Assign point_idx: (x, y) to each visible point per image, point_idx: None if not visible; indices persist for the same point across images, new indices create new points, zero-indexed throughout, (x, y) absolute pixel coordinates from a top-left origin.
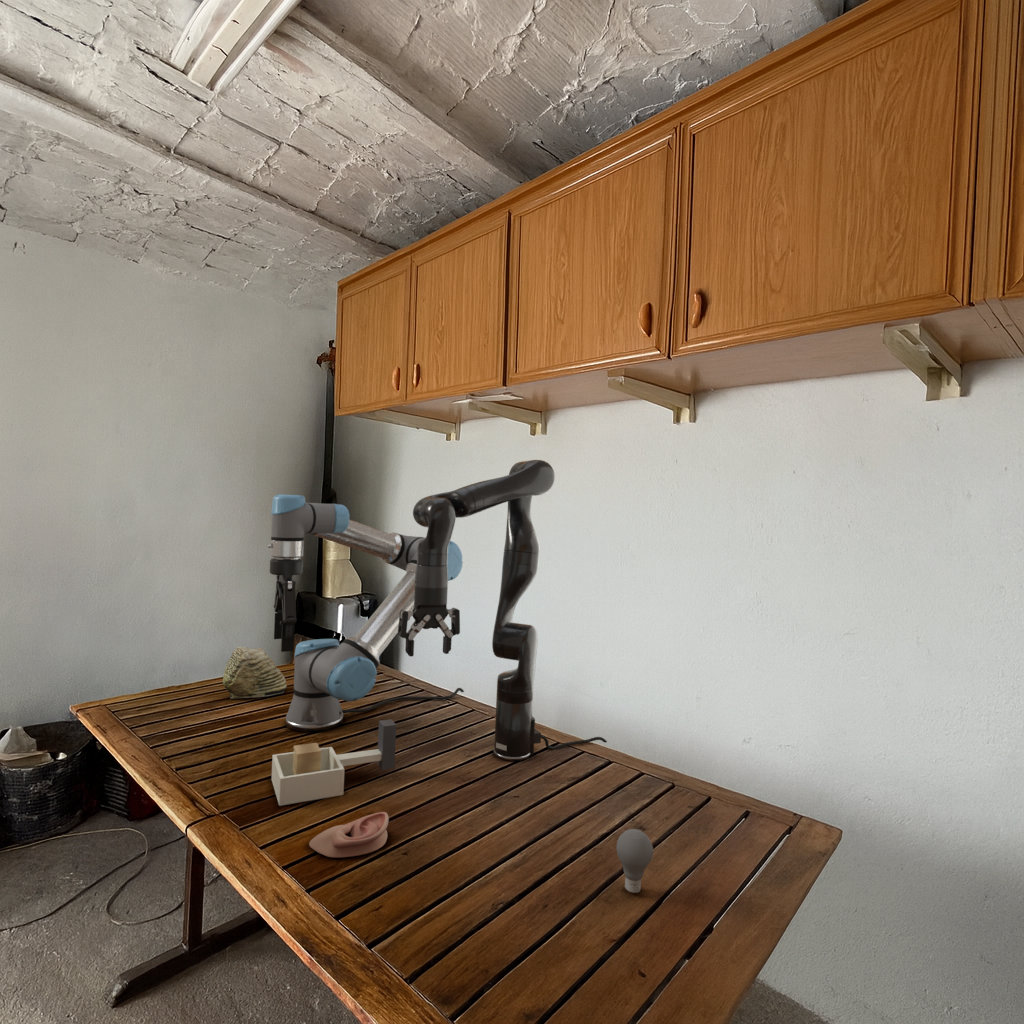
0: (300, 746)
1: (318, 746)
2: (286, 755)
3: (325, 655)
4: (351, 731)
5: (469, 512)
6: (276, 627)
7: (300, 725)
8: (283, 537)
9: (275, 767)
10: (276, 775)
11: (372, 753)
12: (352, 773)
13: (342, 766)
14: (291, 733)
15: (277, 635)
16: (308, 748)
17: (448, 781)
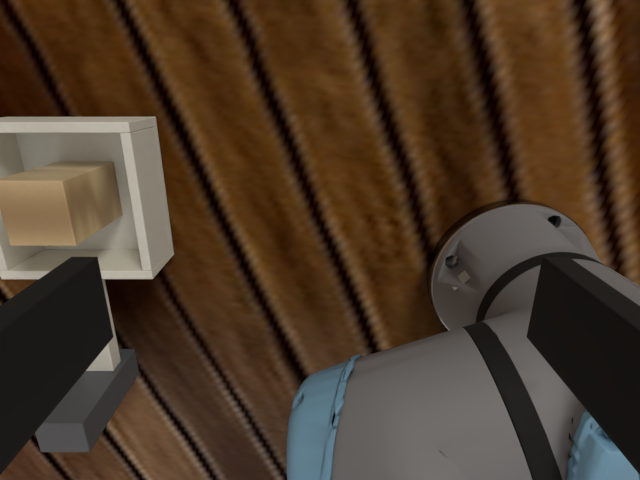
0: (50, 198)
1: (44, 244)
2: (125, 160)
3: (475, 449)
4: (398, 341)
5: None
6: (605, 324)
7: (454, 234)
8: None
9: (58, 121)
10: (40, 120)
11: None
12: (147, 292)
13: (15, 278)
14: (451, 205)
15: (555, 294)
16: (32, 217)
17: None
